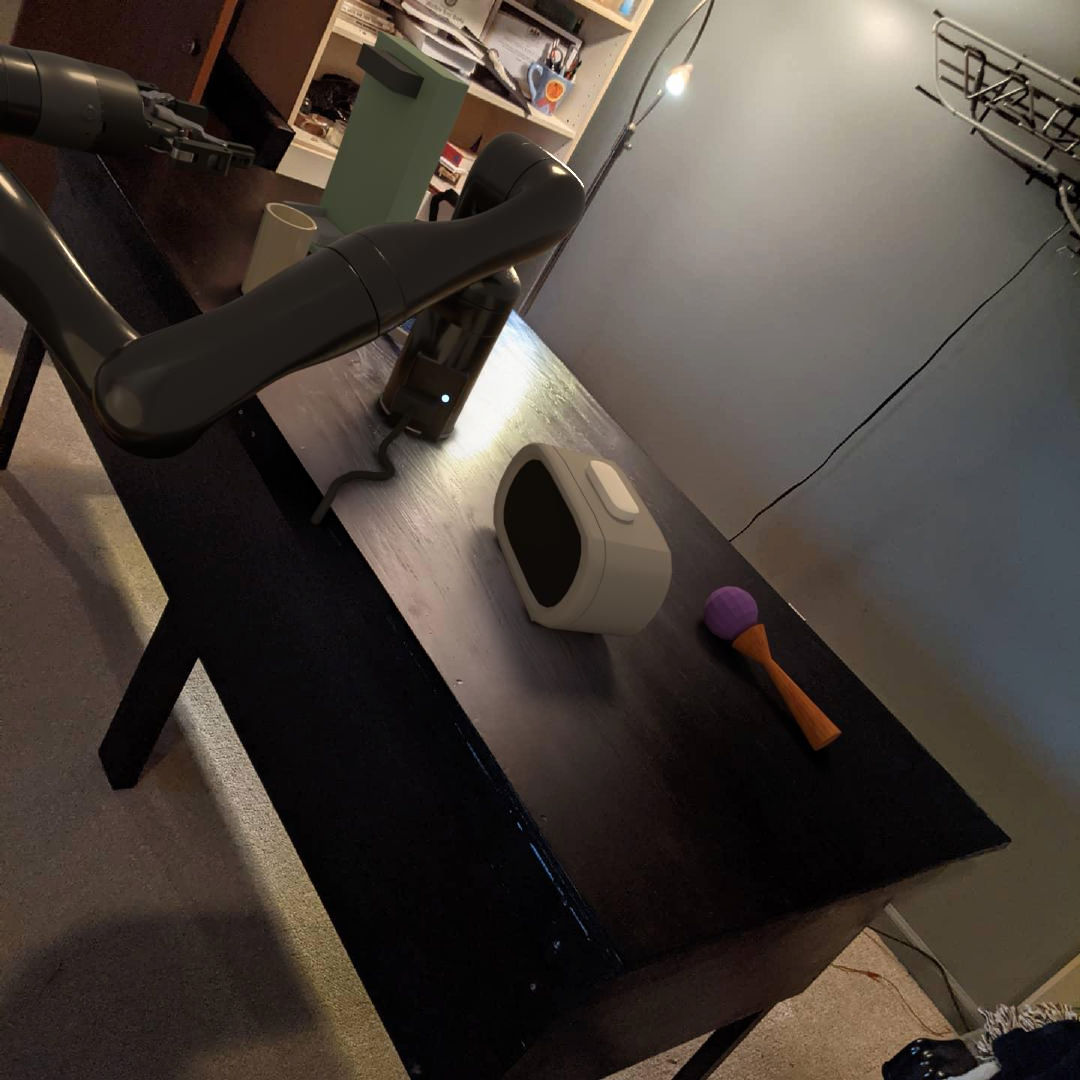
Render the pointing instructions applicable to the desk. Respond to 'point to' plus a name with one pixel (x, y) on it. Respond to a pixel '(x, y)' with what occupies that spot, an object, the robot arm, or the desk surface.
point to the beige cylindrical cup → (278, 243)
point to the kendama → (764, 657)
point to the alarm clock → (580, 542)
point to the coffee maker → (387, 141)
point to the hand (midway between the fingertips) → (228, 138)
